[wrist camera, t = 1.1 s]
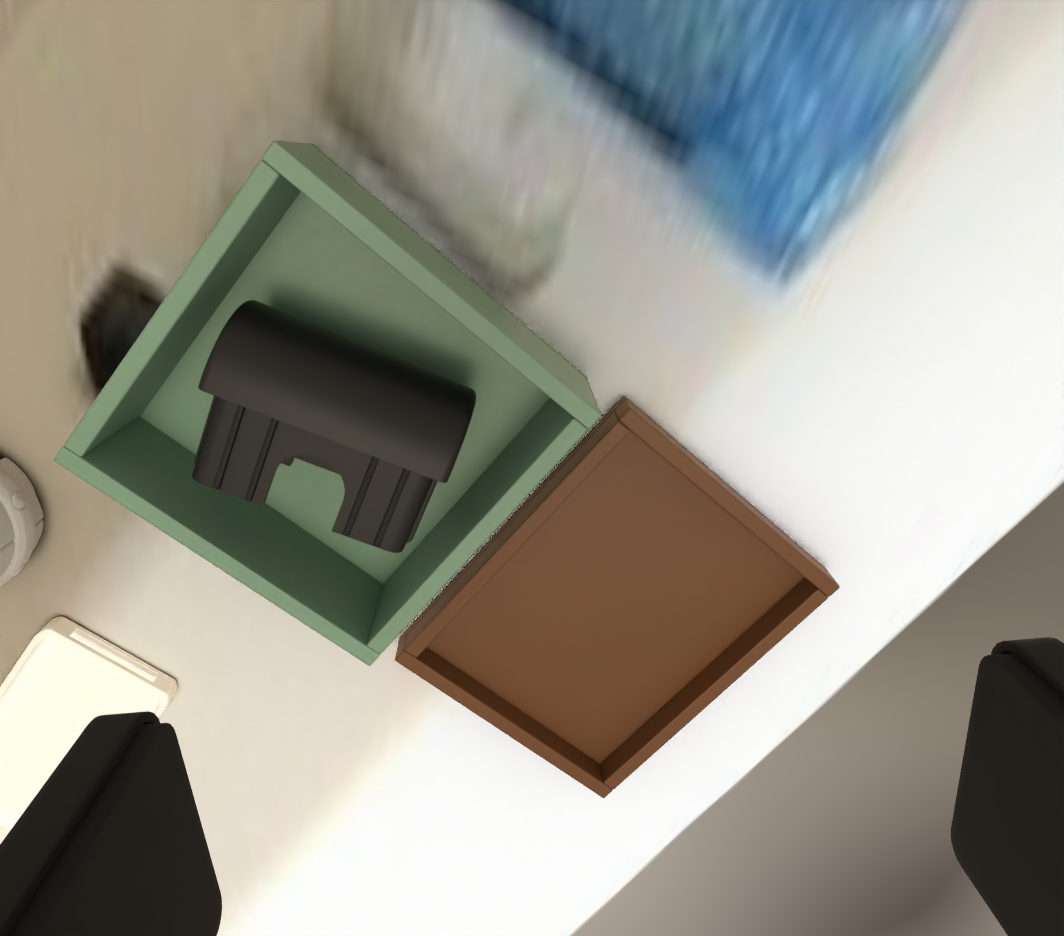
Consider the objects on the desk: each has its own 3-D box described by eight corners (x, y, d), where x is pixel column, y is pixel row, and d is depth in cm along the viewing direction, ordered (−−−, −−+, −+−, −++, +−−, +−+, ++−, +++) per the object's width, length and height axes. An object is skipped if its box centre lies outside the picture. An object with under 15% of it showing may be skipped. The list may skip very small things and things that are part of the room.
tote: (311, 143, 32) (273, 139, 27) (587, 377, 37) (602, 415, 31) (118, 416, 36) (52, 460, 31) (387, 599, 41) (369, 667, 35)
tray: (624, 395, 37) (630, 407, 35) (825, 568, 41) (840, 587, 39) (398, 638, 41) (394, 660, 40) (599, 772, 45) (603, 799, 43)
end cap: (480, 371, 36) (476, 416, 30) (426, 501, 38) (411, 567, 32) (270, 284, 34) (217, 312, 28) (225, 425, 36) (168, 480, 30)
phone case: (54, 849, 46) (183, 682, 42) (41, 868, 45) (173, 698, 41) (-67, 791, 44) (56, 610, 40) (-84, 809, 43) (41, 625, 39)
